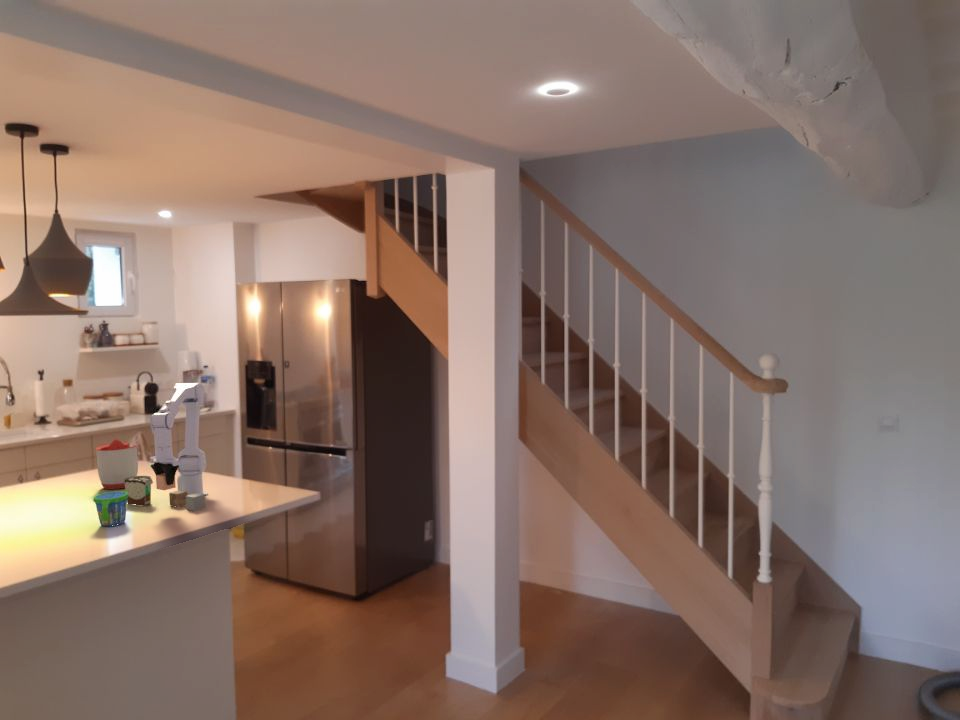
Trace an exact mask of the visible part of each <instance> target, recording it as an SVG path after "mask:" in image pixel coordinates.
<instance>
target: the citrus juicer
mask: <svg viewBox="0 0 960 720" xmlns="http://www.w3.org/2000/svg"><path fill="white" fill-rule="evenodd" d="M95 451H96V452H95V453H96V465H97V474H98V477H99V480H100V483H101V485H102V487H103V488H104V489H106V490H114V489H116V490H119V489H125V483H123V481H124V478H126V477H132V476H138V473H139V472H138V470H139V461H138V460H139V459H138V457H139V456H140V455H141V452H140V451H139V450H138V444H137V443H135V444H134V445H132V446H130V442H122V441H121V440H119V439H118V438H115V439H114V440H112V442H111V443H110V444H104V445H100V446H97V447H95Z"/></svg>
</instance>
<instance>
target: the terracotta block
mask: <svg viewBox="0 0 960 720" xmlns="http://www.w3.org/2000/svg"><path fill="white" fill-rule="evenodd" d="M155 483H156V485H155V486H156V490H161V491H168V490H170V489H171V490H172V489H175V488H176V477H175V478H174V483H173V484H171V485H167V483H166V478H165V474H164V473H163V474H159V475H155ZM176 489H177V488H176Z"/></svg>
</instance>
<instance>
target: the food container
mask: <svg viewBox="0 0 960 720" xmlns="http://www.w3.org/2000/svg"><path fill="white" fill-rule="evenodd" d="M123 483H125V488H124V490H125V492H128V499H127V503H128V504H136V505H143V506H142V507H144V506H146V505H148V506H149V504H150V503H152V502H151V499H152V495H151V494H152V484H153V483H154V482H153V478H152V477H151V476H149V475H137V476H132V477H126V478H124V481H123ZM128 504H127V505H128ZM136 505H135V506H136ZM150 505H151V504H150ZM146 507H147V506H146Z"/></svg>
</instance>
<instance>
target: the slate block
mask: <svg viewBox="0 0 960 720" xmlns="http://www.w3.org/2000/svg"><path fill="white" fill-rule="evenodd" d="M205 500H206V499H205V495H204V494H198V493H195V494H191V495H188V496H186V505H185V506H186V510H187V509H189V510H188V511H192V510H193V512H195V511H200V510H203V509H206V503H205Z"/></svg>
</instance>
